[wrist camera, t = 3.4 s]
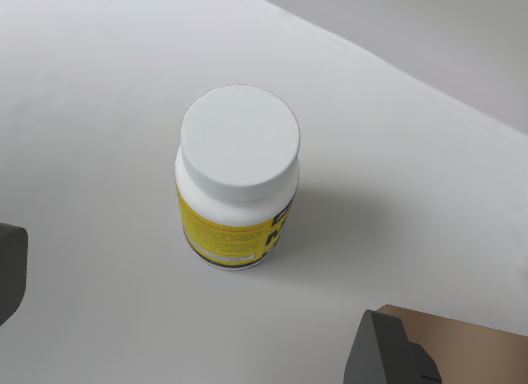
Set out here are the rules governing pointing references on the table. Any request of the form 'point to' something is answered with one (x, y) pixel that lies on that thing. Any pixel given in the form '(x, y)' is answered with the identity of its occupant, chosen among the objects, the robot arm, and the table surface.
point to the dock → (466, 348)
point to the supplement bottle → (236, 174)
